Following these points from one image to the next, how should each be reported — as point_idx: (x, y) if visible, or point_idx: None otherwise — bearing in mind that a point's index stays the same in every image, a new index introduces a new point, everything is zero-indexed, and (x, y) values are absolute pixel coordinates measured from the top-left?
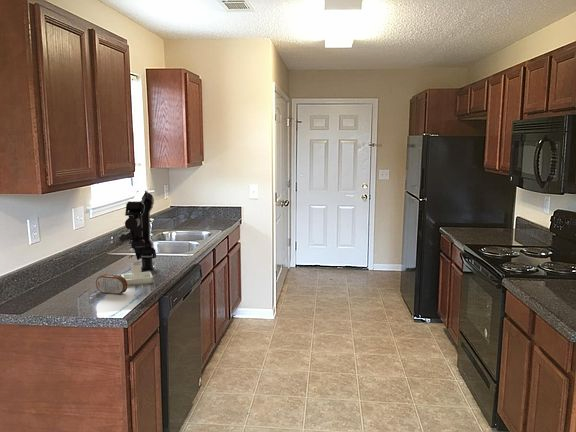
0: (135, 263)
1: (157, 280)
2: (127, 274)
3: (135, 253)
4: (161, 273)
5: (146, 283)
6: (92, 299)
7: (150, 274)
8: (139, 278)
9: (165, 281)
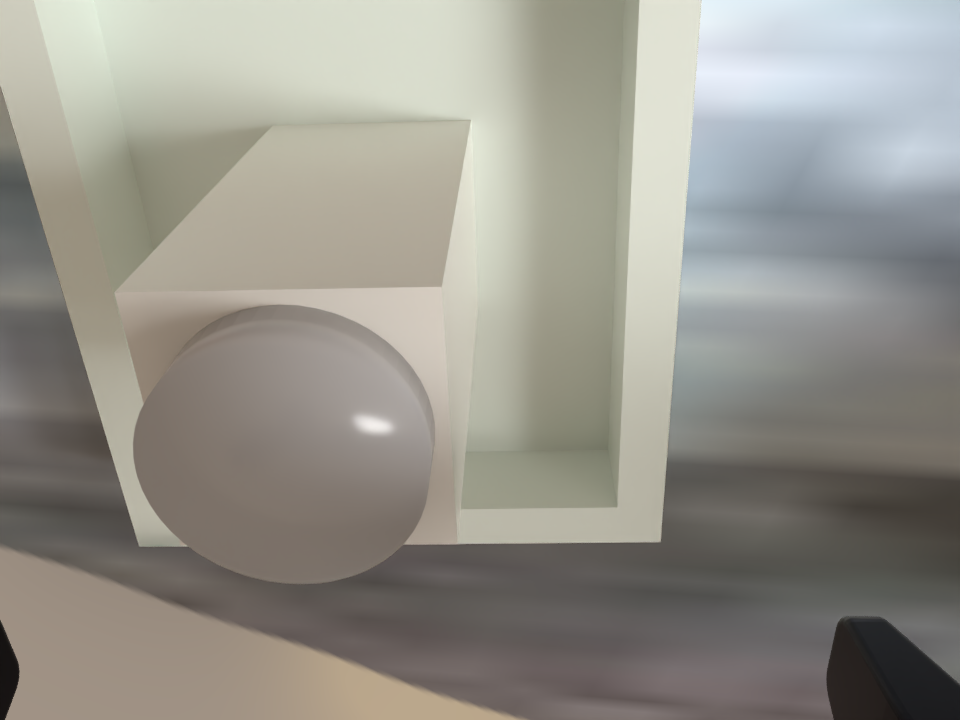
0: (142, 437)
1: None
2: (637, 17)
3: (875, 690)
4: None
5: None
6: None
7: None
8: (97, 305)
9: (283, 632)
